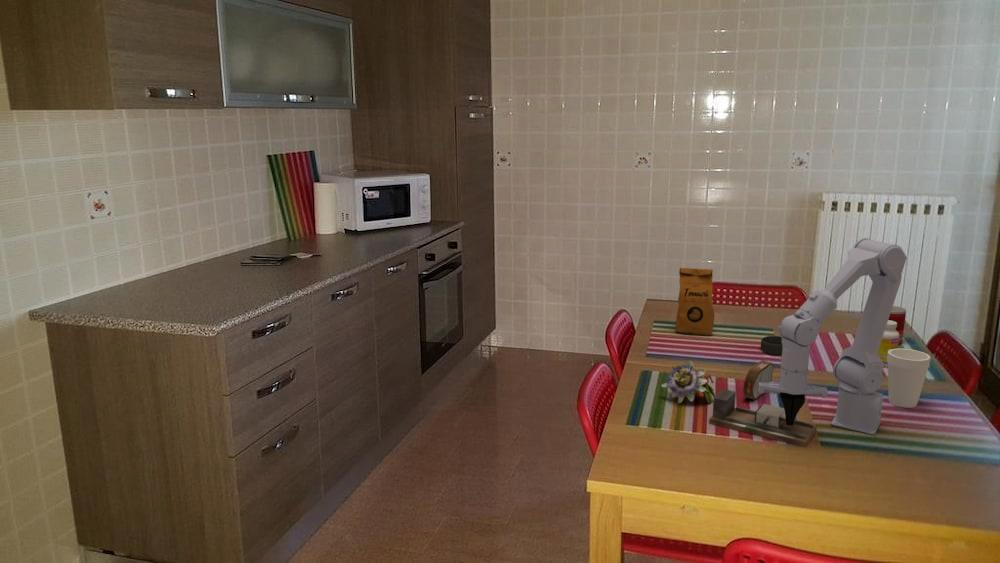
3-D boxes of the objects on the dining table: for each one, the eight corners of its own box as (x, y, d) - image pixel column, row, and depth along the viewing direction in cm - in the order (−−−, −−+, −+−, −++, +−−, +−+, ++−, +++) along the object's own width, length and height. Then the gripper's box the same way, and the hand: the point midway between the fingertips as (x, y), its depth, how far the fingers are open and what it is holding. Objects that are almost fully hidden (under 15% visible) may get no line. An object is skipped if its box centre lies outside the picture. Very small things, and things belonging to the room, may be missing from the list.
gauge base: (816, 431, 172) (818, 407, 170) (805, 447, 164) (807, 422, 162) (723, 409, 184) (724, 387, 183) (709, 423, 176) (710, 400, 175)
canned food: (903, 340, 237) (907, 307, 234) (900, 347, 230) (905, 313, 228) (876, 336, 241) (880, 304, 238) (873, 343, 234) (877, 309, 232)
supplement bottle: (889, 369, 211) (895, 326, 208) (866, 363, 216) (871, 321, 213) (899, 364, 215) (904, 322, 212) (875, 358, 220) (880, 317, 217)
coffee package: (712, 338, 240) (716, 272, 235) (673, 334, 244) (676, 270, 239) (714, 329, 249) (718, 266, 244) (677, 326, 253) (680, 264, 248)
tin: (762, 384, 200) (764, 355, 198) (773, 387, 198) (776, 357, 196) (740, 401, 189) (743, 370, 187) (752, 404, 187) (755, 373, 185)
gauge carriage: (784, 421, 173) (786, 408, 173) (775, 433, 167) (776, 420, 166) (760, 415, 177) (761, 403, 176) (750, 427, 170) (751, 414, 169)
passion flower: (679, 422, 190) (653, 385, 189) (690, 400, 198) (664, 364, 198) (716, 407, 183) (689, 369, 182) (726, 385, 192) (699, 348, 191)
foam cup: (889, 393, 194) (895, 346, 191) (928, 402, 187) (935, 354, 184) (876, 403, 187) (882, 354, 184) (916, 413, 181) (923, 363, 178)
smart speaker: (795, 356, 223) (796, 344, 222) (765, 356, 223) (766, 344, 222) (784, 347, 231) (785, 335, 230) (756, 347, 232) (757, 335, 231)
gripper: (825, 364, 169) (819, 419, 172) (758, 360, 172) (754, 413, 175) (831, 375, 162) (825, 432, 165) (762, 370, 165) (757, 426, 169)
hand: (789, 423), depth 170 cm, fingers closed
